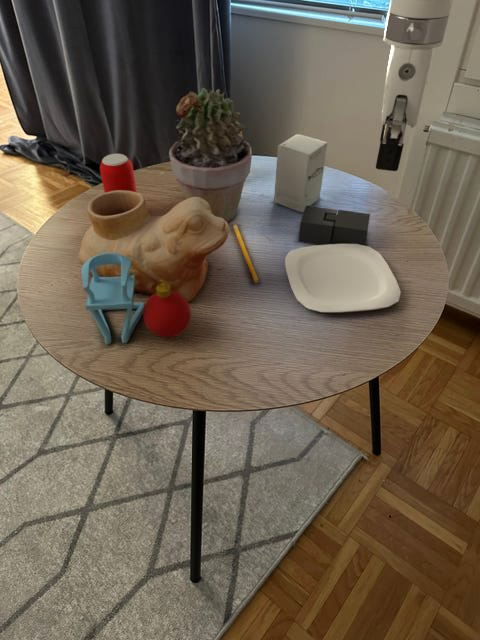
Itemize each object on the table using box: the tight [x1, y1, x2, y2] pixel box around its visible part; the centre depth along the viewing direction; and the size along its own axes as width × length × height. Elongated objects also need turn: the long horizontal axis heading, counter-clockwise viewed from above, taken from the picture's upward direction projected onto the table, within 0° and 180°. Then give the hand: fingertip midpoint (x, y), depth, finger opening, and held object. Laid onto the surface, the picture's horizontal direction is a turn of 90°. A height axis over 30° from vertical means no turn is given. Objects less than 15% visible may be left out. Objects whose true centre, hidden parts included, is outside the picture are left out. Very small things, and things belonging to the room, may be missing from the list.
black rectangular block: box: [325, 209, 371, 246], centre depth 92 cm, size 8×6×4 cm
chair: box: [80, 253, 146, 345], centre depth 72 cm, size 8×8×12 cm
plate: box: [284, 244, 402, 314], centre depth 83 cm, size 18×18×2 cm
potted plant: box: [160, 87, 258, 223], centre depth 92 cm, size 18×20×25 cm
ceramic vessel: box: [78, 190, 230, 303], centre depth 80 cm, size 14×26×15 cm, turn 77°
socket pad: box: [298, 205, 338, 246], centre depth 92 cm, size 6×6×4 cm
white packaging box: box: [273, 133, 328, 213], centre depth 99 cm, size 7×7×13 cm
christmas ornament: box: [142, 280, 192, 338], centre depth 72 cm, size 7×7×10 cm
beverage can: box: [99, 153, 138, 193], centre depth 95 cm, size 6×6×12 cm
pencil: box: [232, 222, 259, 284], centre depth 90 cm, size 1×18×1 cm, turn 12°
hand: (388, 155), depth 75 cm, fingers open, 9 cm apart
